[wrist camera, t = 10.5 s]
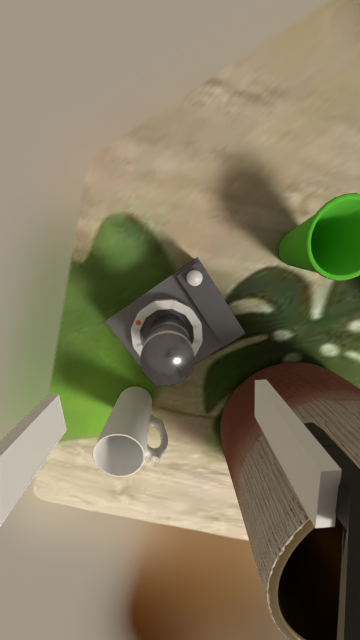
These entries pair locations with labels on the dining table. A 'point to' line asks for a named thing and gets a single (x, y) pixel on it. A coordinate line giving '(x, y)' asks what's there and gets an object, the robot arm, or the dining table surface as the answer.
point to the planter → (291, 496)
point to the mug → (129, 435)
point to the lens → (167, 351)
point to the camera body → (180, 313)
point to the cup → (327, 240)
